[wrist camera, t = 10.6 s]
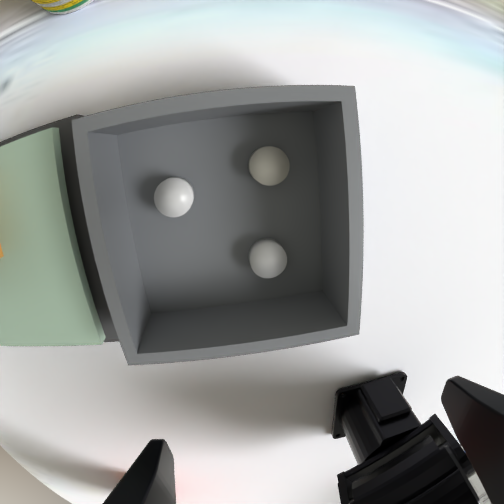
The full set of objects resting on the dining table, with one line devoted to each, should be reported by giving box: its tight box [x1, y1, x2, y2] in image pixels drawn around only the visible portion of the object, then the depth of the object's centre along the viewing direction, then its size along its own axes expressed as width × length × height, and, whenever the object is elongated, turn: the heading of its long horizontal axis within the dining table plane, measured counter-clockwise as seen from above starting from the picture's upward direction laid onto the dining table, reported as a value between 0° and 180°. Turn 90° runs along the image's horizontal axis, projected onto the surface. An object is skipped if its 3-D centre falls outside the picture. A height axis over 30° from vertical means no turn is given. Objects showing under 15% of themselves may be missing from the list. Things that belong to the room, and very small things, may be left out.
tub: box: [72, 85, 363, 365], centre depth 15 cm, size 12×12×5 cm
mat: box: [0, 115, 119, 342], centre depth 16 cm, size 14×14×1 cm
